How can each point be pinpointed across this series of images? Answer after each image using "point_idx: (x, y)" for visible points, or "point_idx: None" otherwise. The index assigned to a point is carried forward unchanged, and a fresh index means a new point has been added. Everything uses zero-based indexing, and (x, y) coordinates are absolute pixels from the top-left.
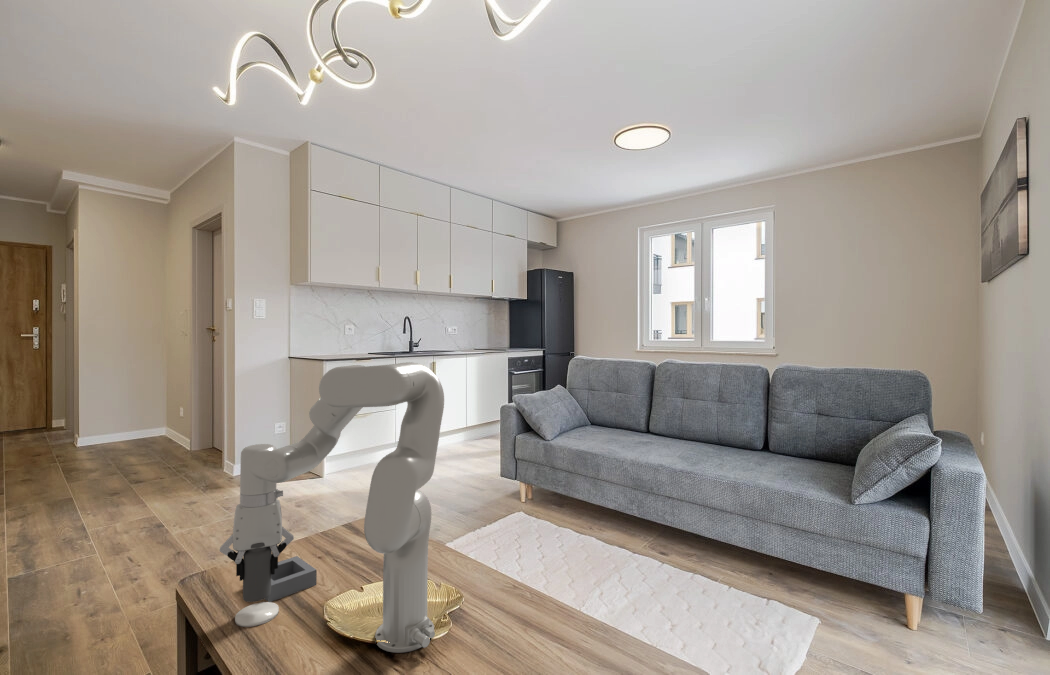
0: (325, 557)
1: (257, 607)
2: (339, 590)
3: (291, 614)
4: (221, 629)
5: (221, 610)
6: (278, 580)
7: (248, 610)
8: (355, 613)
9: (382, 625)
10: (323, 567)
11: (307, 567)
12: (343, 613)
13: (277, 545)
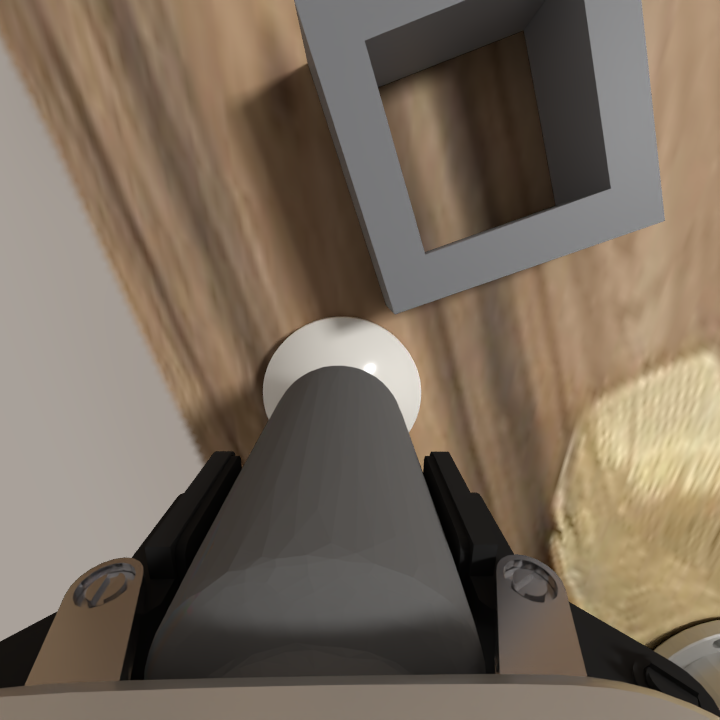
0: None
1: (342, 358)
2: (664, 337)
3: (457, 438)
4: (226, 428)
5: (202, 276)
6: (448, 261)
7: (309, 366)
8: (645, 525)
9: (685, 656)
10: (696, 9)
11: (630, 154)
12: (613, 509)
13: (577, 644)
